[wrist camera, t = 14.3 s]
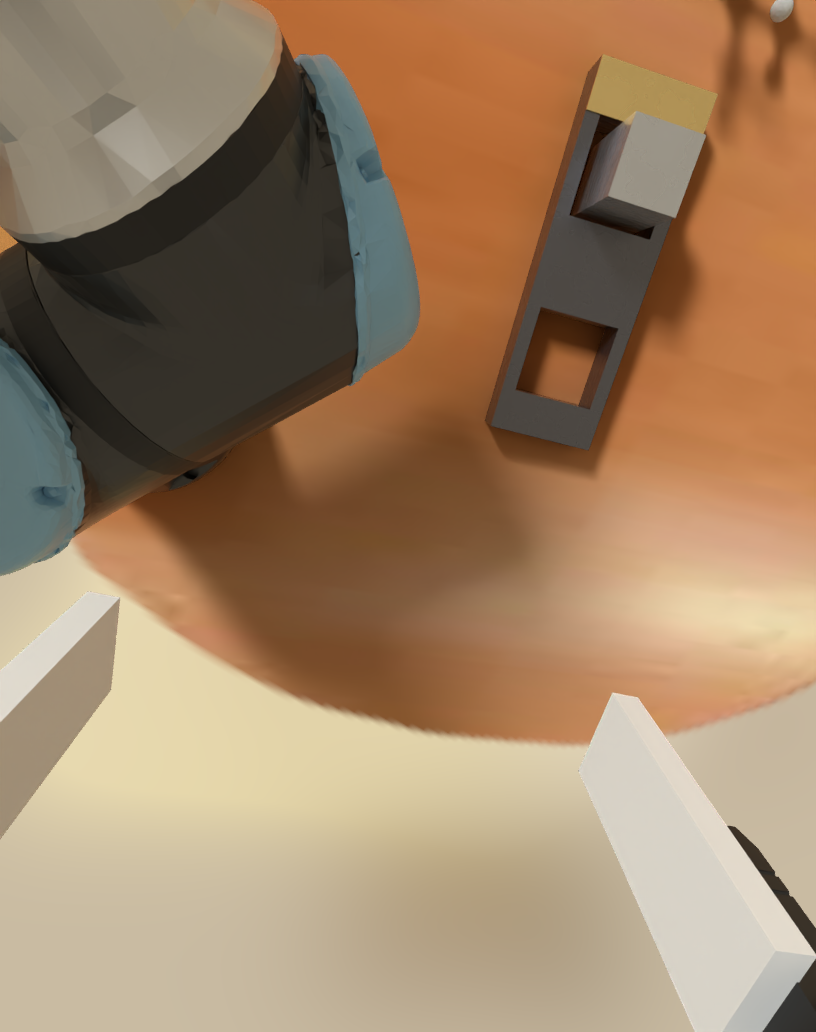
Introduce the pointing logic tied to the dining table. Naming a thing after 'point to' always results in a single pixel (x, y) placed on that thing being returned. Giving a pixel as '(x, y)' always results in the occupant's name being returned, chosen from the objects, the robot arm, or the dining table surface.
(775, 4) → the molecular model
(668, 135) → the light grey rectangular block
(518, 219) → the dining table surface
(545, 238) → the grey slotted frame
